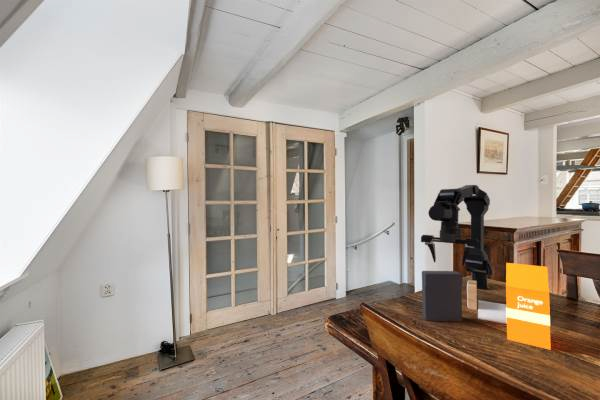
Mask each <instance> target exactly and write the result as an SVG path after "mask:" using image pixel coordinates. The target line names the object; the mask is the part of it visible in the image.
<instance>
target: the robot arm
mask: <svg viewBox="0 0 600 400" xmlns="http://www.w3.org/2000/svg"><path fill="white" fill-rule="evenodd" d="M462 202H463V203H464V204H465V205H466V210H467V212H468V214H470V237H469V238H468V237H466V238H465V239H463V236H462V235H463V233H462V232H463V231H462V230H463V229H459V211H461V209H460V207H459V205H460V204H461V203H462ZM490 205H491V199H490V197H489V195H488V194H487V192H486V191H484V190H482V189H481V188H480V187H479V185H477V184H469V185H468V184H467V185H463V186H461V187H458V188H443V189H440V190H439V192H438V193H437V196H436V198H435V201H434V202H433V205H432V206H431V207H429V210H428V216H429V218H430V219H431V220H432V221H435V222H436V221H437V222H440V230H439V236H438V237H437V236H435V235H432V234H431V235H430V234H422V235H421V236H420V243H424V245H426V246H427V247H428V249H429V250H430V253H431V257H432V261H433V262H434V263H436V259H437V257H436V256H437V255H436V245H435V243H445V244H446V243H447V244H456V245H457V244H458V245H465V246H464V249H463V256H462V262H461V266H462V267H463V266H465V270H466V272H469V273H471V280H473V281H477V289H482V290H489V289H490V287H489V284H488V276H489V275H490V276H493V272H494V270H493V267H492V264H491V262H490V260H489V256H488V254H487V252H486V251H485V247H484V244H485V243H484V242H485V241H484V240H485V232H484V231H485V230H484V228H485V224H484V223H485V215H486V213H487V212H488V211H489V207H490Z"/></svg>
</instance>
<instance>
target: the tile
mask: <svg viewBox="0 0 600 400" xmlns="http://www.w3.org/2000/svg"><path fill="white" fill-rule="evenodd" d="M477 292H478V288H477V281H473V280H472V279H468V280H467V283H466V303H467V304H466V305H467V306H466V307H467V308H468V309H469V310H475V311H478V293H477Z"/></svg>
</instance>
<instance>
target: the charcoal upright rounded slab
mask: <svg viewBox="0 0 600 400" xmlns="http://www.w3.org/2000/svg"><path fill="white" fill-rule="evenodd" d="M462 288H463V274H462V273H460V272H459V271H457V270H422V271H421V296H422V297H421V299H422V300H421V302H422V317H423V318H424V320H425V321H428V322H429V321H433V322H434V321H435V322H437V321H438V322H462V321H463V301H462V300H463V297H462V296H463V295H462V293H463V292H462V290H463V289H462Z"/></svg>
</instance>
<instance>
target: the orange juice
mask: <svg viewBox="0 0 600 400" xmlns="http://www.w3.org/2000/svg"><path fill="white" fill-rule="evenodd" d="M505 269H506V270H505V271H506V272H505V273H506V274H505V275H506V276H505V280H506V281H505V292H506V293H505V297H506V298H505V301H506V317H507V324H506V339H507V340H508V341H512V342H517V343H519V344H520V343H521V344H525V345H529V346H533V347H538V348H542V349H546V350H549V351H551V350H552V349H551V348H552V347H551V314H550V311H551V309H550V290H549V289H550V287H549V273H548V271H549V270H548V266H543V265H541V266H540V265H533V264H531V265H530V264H523V263H522V264H521V263H513V262H512V263H510V262H506V264H505Z"/></svg>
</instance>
